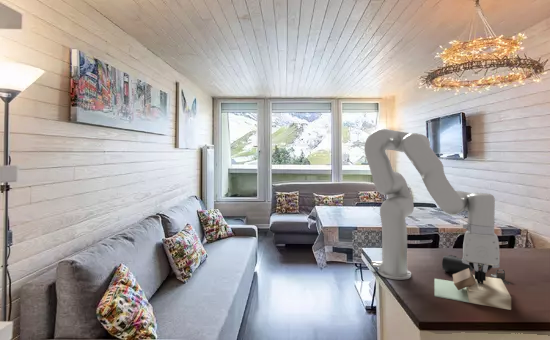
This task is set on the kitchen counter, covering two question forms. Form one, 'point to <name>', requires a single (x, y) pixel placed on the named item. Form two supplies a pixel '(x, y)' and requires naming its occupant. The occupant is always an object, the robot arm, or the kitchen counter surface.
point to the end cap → (454, 264)
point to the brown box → (463, 279)
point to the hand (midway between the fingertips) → (479, 281)
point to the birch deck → (489, 293)
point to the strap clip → (500, 276)
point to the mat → (449, 290)
